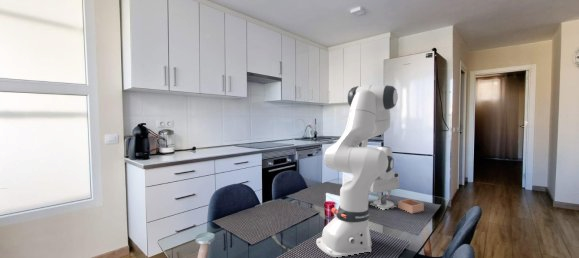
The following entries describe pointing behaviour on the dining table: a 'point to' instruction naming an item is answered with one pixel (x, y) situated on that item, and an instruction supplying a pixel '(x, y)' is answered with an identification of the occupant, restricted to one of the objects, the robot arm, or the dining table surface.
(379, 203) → the lid
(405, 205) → the orange open box
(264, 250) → the dining table surface
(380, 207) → the mat
